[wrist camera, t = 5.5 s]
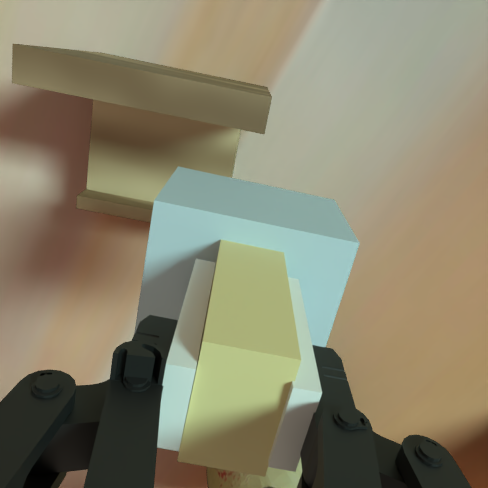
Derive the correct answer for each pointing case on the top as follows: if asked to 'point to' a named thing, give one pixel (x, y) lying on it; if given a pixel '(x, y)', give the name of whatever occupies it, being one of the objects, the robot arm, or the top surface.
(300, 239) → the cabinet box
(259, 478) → the ceramic jug
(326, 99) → the top surface
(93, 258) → the top surface
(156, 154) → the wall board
